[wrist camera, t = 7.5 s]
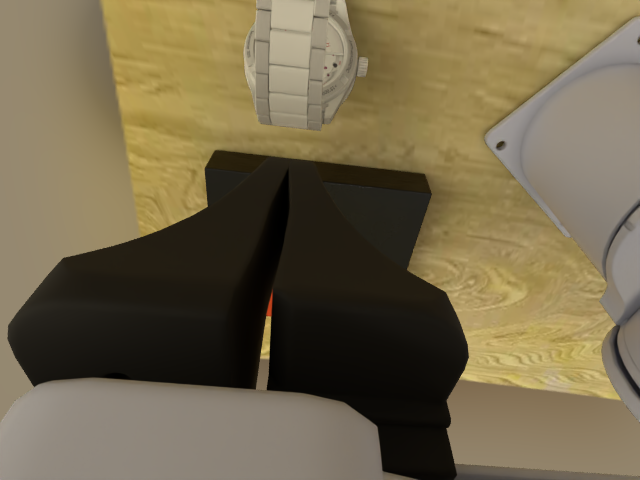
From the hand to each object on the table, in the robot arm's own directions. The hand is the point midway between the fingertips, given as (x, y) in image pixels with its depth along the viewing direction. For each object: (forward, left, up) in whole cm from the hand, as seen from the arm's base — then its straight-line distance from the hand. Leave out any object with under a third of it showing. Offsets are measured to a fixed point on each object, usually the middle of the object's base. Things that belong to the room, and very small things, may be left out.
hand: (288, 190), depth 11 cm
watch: (+7, -8, -9) cm, 14 cm away
